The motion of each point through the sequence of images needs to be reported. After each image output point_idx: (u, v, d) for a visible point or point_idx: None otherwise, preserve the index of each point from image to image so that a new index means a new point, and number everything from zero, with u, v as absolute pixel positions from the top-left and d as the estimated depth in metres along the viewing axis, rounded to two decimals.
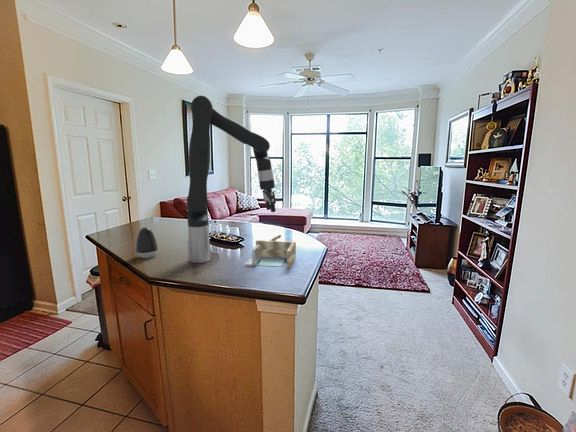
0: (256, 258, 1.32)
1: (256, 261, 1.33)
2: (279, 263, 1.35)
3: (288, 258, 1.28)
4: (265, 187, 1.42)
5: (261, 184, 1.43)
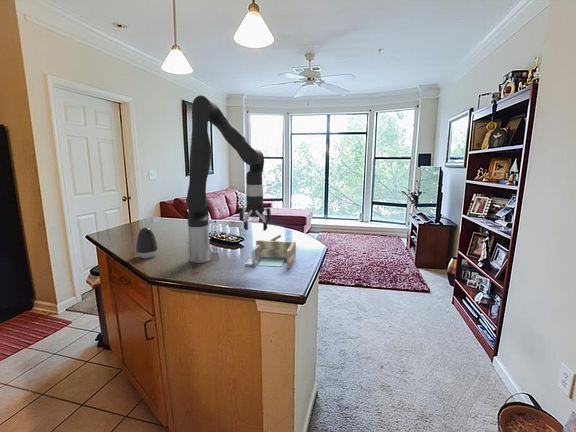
0: (256, 258, 1.32)
1: (256, 261, 1.33)
2: (279, 263, 1.35)
3: (288, 258, 1.28)
4: None
5: None
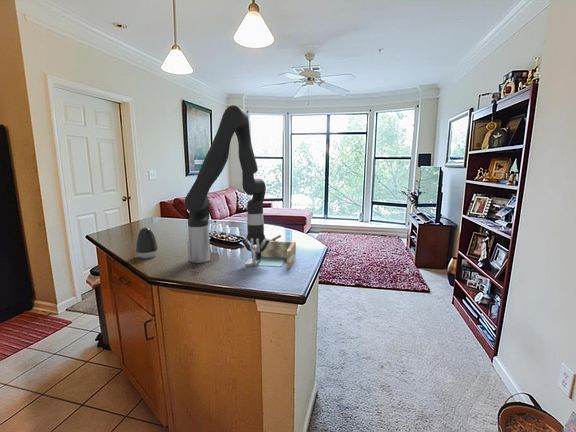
0: (256, 258, 1.32)
1: (257, 261, 1.33)
2: (279, 263, 1.35)
3: (288, 258, 1.28)
4: None
5: None
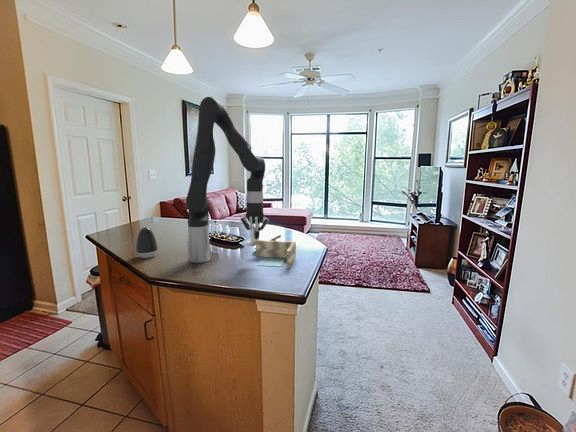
0: (254, 238, 1.30)
1: (255, 241, 1.31)
2: (279, 263, 1.35)
3: (288, 258, 1.28)
4: None
5: None
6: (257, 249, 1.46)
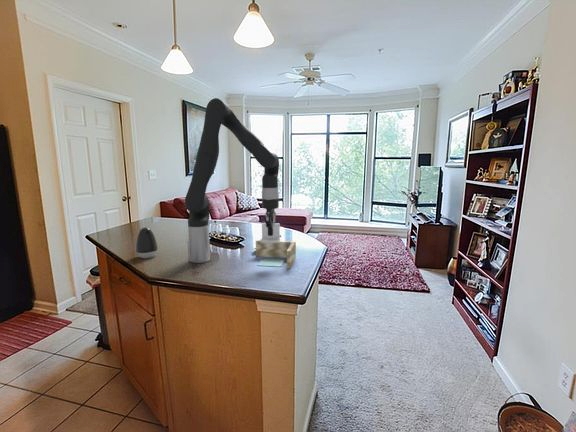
0: None
1: None
2: (279, 263, 1.35)
3: (288, 258, 1.28)
4: (264, 206, 1.28)
5: (262, 202, 1.30)
6: (257, 249, 1.46)
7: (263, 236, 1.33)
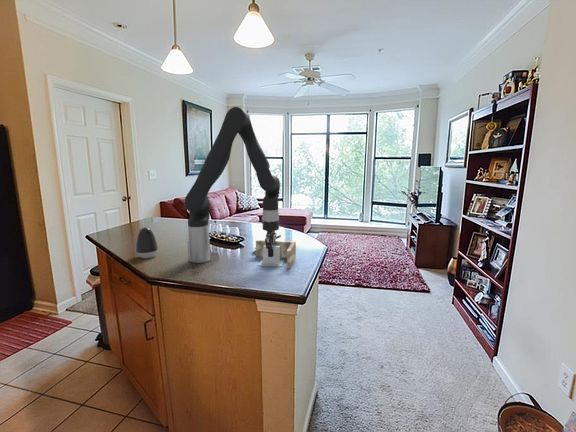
0: None
1: None
2: None
3: (288, 258, 1.28)
4: (265, 228, 1.30)
5: None
6: (257, 249, 1.46)
7: (264, 258, 1.35)
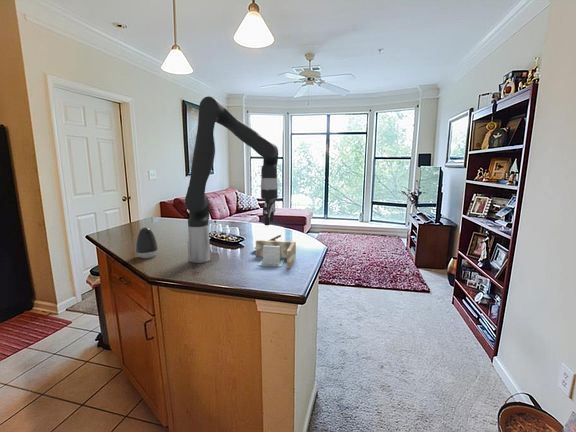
0: None
1: None
2: None
3: (288, 258, 1.28)
4: (263, 196, 1.28)
5: (261, 192, 1.30)
6: (257, 249, 1.46)
7: (264, 258, 1.35)
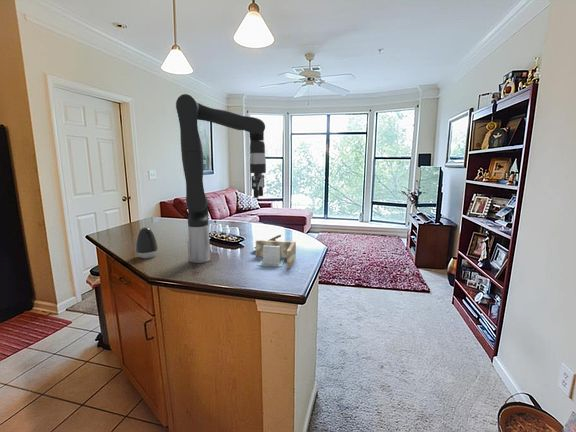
0: None
1: None
2: None
3: (288, 258, 1.28)
4: (252, 170, 1.36)
5: (250, 167, 1.37)
6: (257, 249, 1.46)
7: (264, 258, 1.35)
